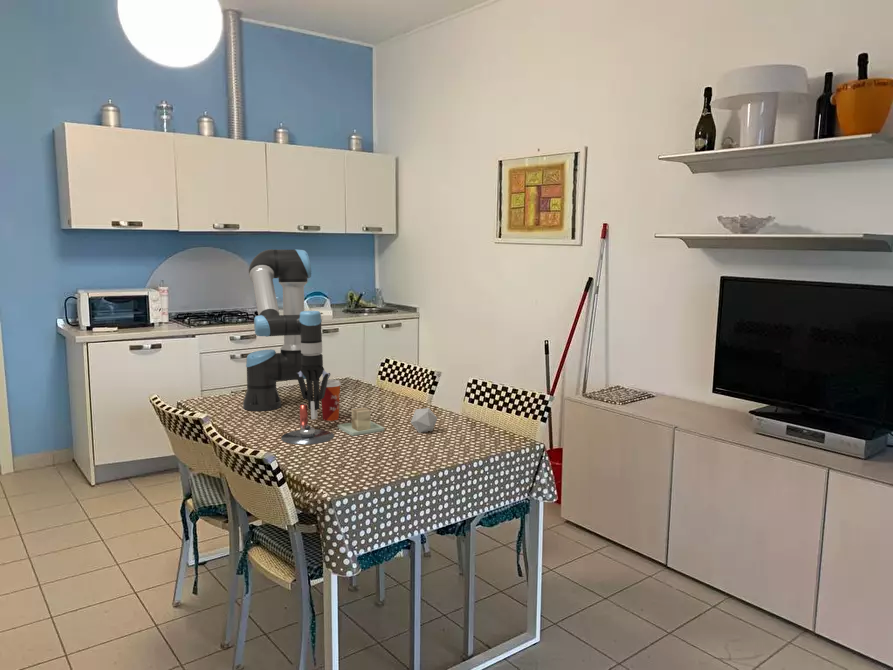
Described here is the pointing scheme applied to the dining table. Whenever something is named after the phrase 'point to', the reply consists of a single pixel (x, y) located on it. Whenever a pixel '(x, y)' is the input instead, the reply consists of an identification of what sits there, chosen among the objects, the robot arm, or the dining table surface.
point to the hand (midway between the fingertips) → (314, 418)
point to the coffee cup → (331, 400)
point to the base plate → (296, 438)
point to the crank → (305, 422)
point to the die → (423, 420)
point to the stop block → (361, 419)
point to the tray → (348, 429)
